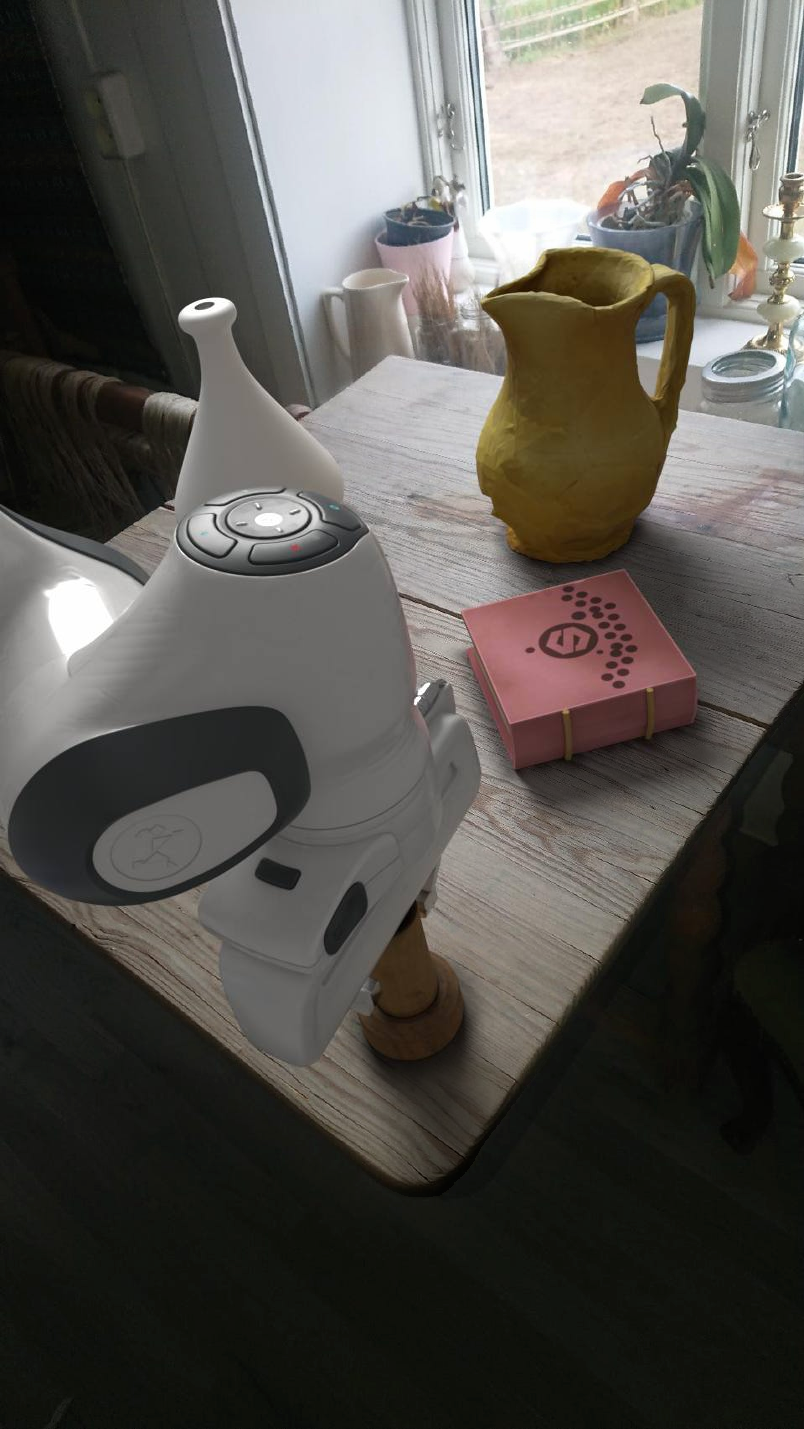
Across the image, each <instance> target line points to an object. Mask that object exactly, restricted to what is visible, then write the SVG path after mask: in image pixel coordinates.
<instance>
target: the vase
mask: <svg viewBox="0 0 804 1429" xmlns="http://www.w3.org/2000/svg"><path fill="white" fill-rule="evenodd" d="M237 316H238V311H237V308H236V305H235V304H234V303H233V302H232V300H230V299H227V298H223V297H209V298H204V299H199V300H197V301H194V302H192V303H190V304H188V305H186V306H185V307H184V308H183V309H181V311H180V312H179V314H178V319H177V322H178V325H179V328H180V329H181V330H182V331H183V332H184V333H186V334H188V335H189V336H191V337H192V338H193V340H194V342H195V345H196V348H197V353H198V358H199V364H200V372H201V374H200V375H201V376H200V377H201V380H200V381H201V382H200V392H199V398H198V404H197V408H196V413H195V417H194V421H193V425H192V428H191V433H190V436H189V440H188V443H187V447H186V451H185V454H184V458H183V462H182V465H181V469H180V473H179V476H178V481H177V485H176V490H175V496H174V516H175V520H176V525H178V524H179V522H180V521H181V519H182V518H183V517H184V516H185V515H186V514H187V513H188V512H190V511H191V510H192V509H194V508H195V507H197V506H198V505H200V504H202V503H204V502H206V501H208V500H210V499H213V498H215V497H218V496H220V495H223V494H226V493H229V492H233V491H237V490H241V489H247V488H255V487H268V486H281V487H285V488H293V489H300V490H305V491H313V492H316V493H319V494H321V495H324V496H326V497H328V498H331V499H333V500H335V501H337V502H338V503H340V504H342V505H343V502H344V497H345V481H344V480H345V479H344V476H343V473H342V471H341V469H340V466H339V465H338V462H336V460H335V459H334V457H333V456H332V455H331V454H330V453H329V451H328V450H327V449H326V448H325V447H324V446H323V445H322V444H321V443H320V442H319V441H318V440H317V439H316V438H315V437H314V436H313V435H312V434H311V432H309V431H308V430H307V429H306V428H305V427H304V426H303V425H301V423H299V422H298V421H297V419H295V418H294V417H293V415H291V414H290V413H289V412H288V411H287V410H286V409H285V408H284V407H283V406H282V405H280V403H278V401H276V399H275V398H274V397H272V395H270V394H269V392H268V391H267V390H266V389H265V388H264V387H263V386H262V385H261V384H260V383H259V382H258V381H257V380H256V378H255V377H254V376H253V375H252V373H251V371H249V369H248V368H247V366H246V364H245V363H244V361H243V358H242V356H241V354H240V352H239V350H238V347H237V345H236V342H235V340H234V337H233V333H232V326H233V324H234V323H235V321H236V319H237Z"/></svg>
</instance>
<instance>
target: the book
mask: <svg viewBox="0 0 804 1429" xmlns="http://www.w3.org/2000/svg"><path fill="white" fill-rule="evenodd" d="M460 615H461V619H462V621H463V624H464V626H465V628H466V631H467V634H468V636H469V638H470V640H471V643H472V647H470V648H469V647H468V648H466V649H465V652H466V657H467V659H468V661H469V664H470V666H471V669H472V672H473V674H474V676H475V678H476V681H477V683H478V686H479V688H480V690H481V693H482V695H483V697H484V700H485V703H486V705H487V707H488V710H489V712H490V714H491V718H492V719H493V722H494V724H495V727H496V728H497V731H498V734H499V736H500V739H501V741H502V743H503V746H504V748H505V750H506V753H507V755H508V758H509V760H510V764H511V765H512V768H513V770H514V771H516V770H520V769H524V768H527V767H531V766H534V765H535V766H536V765H538V764H543V763H546V762H550V761H554V760H558V759H562V758H564V760H565V761H571V760H572V756H573V755H577V754H580V753H581V754H582V753H584V752H588V751H592V750H596V749H599V748H604V747H607V746H611V745H615V744H618V743H622V742H626V741H630V740H634V739H638V738H641V737H644V738H645V739H647V740H650V739H652V735H653V734H656V733H660V732H663V731H668V730H672V729H675V728H679V727H683V726H686V725H690V724H693V723H694V721H695V718H696V714H697V710H698V699H699V692H698V676H697V675H698V674H697V673H696V672H695V671H694V669H693V668H692V665H691V664H690V663H689V661H688V660H687V658H686V657H685V656H684V654H683V653H682V651H681V650H680V648H679V647H678V644H676V643H675V641H674V639H673V638H672V636H671V635H670V634H669V632H668V631H667V629H666V628H665V627H664V625H663V624H662V622H661V620H660V619H659V617H658V616H657V614H656V613H655V611H654V610H653V609H652V607H651V606H650V604H649V602H648V601H647V600H646V598H645V597H644V595H643V594H642V592H641V591H640V590H639V588H638V587H637V585H636V583H635V582H634V581H633V579H632V577H631V576H630V575H629V573H628V572H627V570H626V569H625V568H622V569H618V570H614V571H610V572H605V573H601V574H598V575H593V576H590V577H586V578H583V579H578V580H574V581H571V582H567V583H562V584H559V585H554V586H550V587H547V588H543V589H539V590H534V591H531V592H528V593H523V594H519V595H516V596H511V597H508V598H504V599H500V600H496V601H492V602H488V603H484V604H481V605H477V606H473V607H468V608H464V609H461V610H460Z"/></svg>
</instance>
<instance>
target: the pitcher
mask: <svg viewBox="0 0 804 1429" xmlns="http://www.w3.org/2000/svg"><path fill="white" fill-rule="evenodd" d="M659 293H662V294H663V295H664V296H665V297H666V326H665V331H664V336H663V346H662V354H661V357H660V364H659V367H658V370H657V375H656V376H657V377H656V382H655V386H654V387H655V388H654V393H653V396H650V395H649V394H648V392H646V390H645V389H644V386H643V385H642V383H641V380H640V376H639V375H640V374H639V367H638V366H639V365H638V355H637V354H638V353H637V343H636V328H637V327H638V324H639V321H640V318H641V317H642V315H643V314H644V313H645V312H646V310H647V309H648V308H649V307H650V306H651V305H652V303H653V300H654V299H655V298H656V296H657V295H658V294H659ZM479 304H480V306H481V310H482V311H483V312H485V313H486V314H487V315H488V316H489V317H490V318H491V319H492V321H493V322H494V323H495V324H496V325H497V326H498V327H499V329H500V331H501V333H502V337H503V338H504V339H503V340H504V346H505V347H504V348H505V373H504V379H503V381H502V386H501V388H500V390H499V393H498V394H497V397H496V399H495V401H494V403H493V404H492V406H491V408H490V409H489V413H488V414H487V417H486V418H485V422H484V424H483V426H482V428H481V431H480V434H479V438H478V443H477V447H476V452H475V457H474V458H475V467H476V469H475V470H476V476H477V482H478V487H479V490H480V492H481V495H483V496H485V497H488V498H490V500H491V504H492V507H493V509H492V511H491V512H490V515H491V516H492V517H495V518H496V519H498V520H499V521H502V522H503V523H504V524H505V525H507V526H506V528H507V529H506V531H505V534H506V535H505V539H506V542H507V544H508V547H509V548H510V549H511V550H512V551H514V552H516V553H518V554H520V553H521V554H522V555H525V556H526V557H529V558H530V559H536V560H539V561H541V560H542V561H543V562H545V561H546V562H547V563H551V564H567V563H571V562H572V563H574V562H575V563H579V562H580V563H582V562H584V561H585V562H592V561H595V560H600V559H604V558H606V557H607V556H608V555H609V554H612V553H613V552H617V551H618V550H619V548H620V547H622V546H624V544H627V543H628V540H629V539H630V537H631V535H632V532H633V530H634V529H633V528H634V526H635V520H636V519H637V518H638V517H639V516H641V514H642V513H643V512H644V511H646V509H648V507H650V505H651V502H652V500H653V498H654V496H655V494H656V491H657V487H658V483H659V480H660V477H661V475H662V472H663V469H664V466H665V463H666V460H667V456H668V450H669V446H670V442H671V439H672V435H673V433H674V432H675V430H676V429H677V428H678V425H677V423H678V420H679V404H680V400H681V391H682V390H683V388H684V386H685V384H686V382H687V379H686V378H687V371H688V366H689V361H690V357H691V350H692V345H693V344H692V343H693V340H694V333H695V318H696V310H697V295H696V288H695V285H694V283H693V281H692V280H691V278H689V277H688V276H687V274H684V273H682V272H680V271H679V270H677V269H676V270H675V269H672V268H670V267H669V266H667V265H664V264H661V263H654V264H651V263H650V262H649V261H648V260H646V259H645V258H643V256H641V255H639V254H636V253H635V252H630V251H624V250H622V249H619V248H612V247H611V248H610V247H602V246H573V247H559V248H557V247H556V248H555V247H554V248H548V249H546V250H543V251H542V253H541V254H540V256H539V258H538V260H537V263H536V265H535V266H534V268H533V269H531V270H530V271H529V272H528V273H527V274H526V275H523V276H521V277H519V278H517V279H514V280H512V281H510V282H506V283H504V284H503V285H500V286H498V287H495V288H493V289H491V291H489V292H488V293H487V294H486V295H484V296H483V297H482V299H481V301H480V302H479Z"/></svg>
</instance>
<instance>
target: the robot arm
mask: <svg viewBox="0 0 804 1429" xmlns="http://www.w3.org/2000/svg"><path fill="white" fill-rule="evenodd" d="M417 673H418V672H417V663H416V659H415V653H414V649H413V645H412V641H411V636H410V631H409V627H408V623H407V619H406V615H405V611H404V607H403V604H402V601H401V597H400V593H399V590H398V587H397V584H396V581H395V578H394V575H393V572H392V569H391V566H390V564H389V561H388V559H387V556H386V554H385V551H384V549H383V546H382V545H381V543H380V541H379V539H378V537H377V536H376V534H375V533H374V531H373V530H372V528H371V527H370V526H369V524H367V522H366V521H365V520H364V519H362V518H361V517H360V516H359V515H358V514H356V513H355V512H354V511H352V510H351V509H350V508H348V507H347V506H346V505H344V504H343V503H342V504H340V503H338V502H337V501H335V500H333V499H331V498H328V497H326V496H324V495H321V494H319V493H316V492H313V491H305V490H300V489H293V488H285V487H281V486H268V487H255V488H247V489H241V490H237V491H233V492H229V493H226V494H223V495H220V496H218V497H215V498H213V499H210V500H208V501H206V502H204V503H202V504H200V505H198V506H197V507H195V508H194V509H192V510H191V511H190V512H188V513H187V514H186V515H185V516H184V517H183V518H182V519H181V521H180V522H179V524H176V527H175V529H174V531H173V534H172V537H171V539H170V542H169V545H168V547H167V550H166V552H165V554H164V556H163V558H162V560H161V561H160V562H159V565H158V566H157V568H155V570H154V572H153V573H152V574H151V576H150V575H149V574H148V572H147V571H146V570H144V568H143V567H141V565H139V564H138V563H137V562H135V561H134V560H133V559H132V558H131V557H129V556H128V555H126V554H125V553H122V552H120V551H119V550H117V549H115V548H113V547H111V546H108V545H107V544H104V543H101V542H99V541H95V540H94V539H90V538H86V537H84V536H80V535H77V534H74V533H71V532H66V531H64V530H61V529H57V528H54V527H51V526H48V525H45V524H42V523H39V522H36V521H34V520H33V519H29V518H26V517H25V516H22V515H21V514H19V513H17V512H15V511H13V510H12V509H9V508H8V507H6V506H4V505H2V504H1V503H0V820H1V823H2V827H3V829H4V832H5V835H6V838H7V841H8V846H9V849H10V853H11V855H12V858H13V860H14V861H15V863H16V865H17V866H18V867H19V869H20V870H21V872H22V873H23V874H24V875H25V876H26V877H27V878H29V879H30V880H31V881H32V882H33V883H34V884H36V885H37V886H39V887H41V888H42V889H44V890H46V891H48V892H50V893H52V894H55V895H57V896H59V897H62V898H64V899H68V900H70V901H75V902H78V903H83V904H88V905H93V906H102V907H103V906H104V907H129V906H139V905H146V904H150V903H154V902H158V901H162V900H166V899H169V898H173V897H176V896H178V895H181V894H184V893H186V892H188V891H191V890H193V889H196V888H198V887H199V886H202V885H204V884H206V883H207V884H206V886H205V888H204V891H203V892H202V895H201V897H200V899H199V902H198V905H197V917H198V921H199V923H200V925H201V927H202V928H203V929H204V931H206V932H208V933H209V934H211V935H213V936H214V937H215V938H217V939H218V940H220V941H221V945H220V947H219V952H218V970H219V977H220V981H221V984H222V987H223V990H224V994H225V997H226V999H227V1001H228V1004H229V1006H230V1009H231V1011H232V1013H233V1015H234V1018H235V1020H236V1022H237V1024H238V1026H239V1028H240V1030H241V1032H242V1033H243V1036H244V1037H245V1038H246V1039H247V1041H248V1042H249V1043H250V1044H251V1045H253V1047H255V1048H257V1049H258V1050H260V1051H262V1052H263V1053H265V1054H267V1055H269V1056H270V1057H273V1058H275V1059H277V1060H279V1061H281V1062H284V1063H286V1064H289V1065H291V1066H294V1067H297V1068H306V1067H310V1066H313V1065H314V1064H316V1063H318V1062H319V1061H320V1060H321V1058H322V1057H323V1055H324V1053H325V1051H326V1049H328V1046H329V1044H330V1043H331V1041H332V1039H333V1037H334V1036H335V1034H336V1033H337V1031H338V1030H339V1027H340V1026H341V1024H342V1022H343V1021H344V1020H345V1017H346V1016H347V1014H348V1013H349V1011H350V1010H352V1011H354V1012H356V1013H357V1012H358V1013H361V1014H363V1015H365V1016H370V1015H371V1013H372V1011H373V1009H374V1008H375V1006H376V1004H377V1003H378V1001H379V999H380V997H381V995H382V994H383V993H382V990H380V983H379V980H377V979H375V978H372V977H370V974H371V972H372V971H373V969H374V967H375V966H376V964H377V962H378V961H379V959H380V957H381V956H382V954H383V952H384V951H385V949H386V947H387V946H388V944H389V942H390V941H391V939H392V937H393V936H394V934H395V932H396V931H397V929H398V927H399V926H400V924H401V922H402V921H403V919H404V917H405V916H406V914H407V912H408V911H409V909H410V907H411V906H412V904H413V902H414V900H415V899H416V901H417V904H418V908H419V912H420V917H421V919H427V917H428V916H429V915H430V913H431V911H432V909H433V907H434V906H435V905H436V903H437V901H438V899H439V896H438V891H437V887H436V884H437V880H438V875H439V870H440V866H441V861H442V857H443V856H442V855H443V854H444V852H445V850H446V849H447V847H448V845H449V844H450V842H451V840H452V838H453V837H454V836H455V834H456V832H457V830H458V828H459V827H460V825H461V823H462V822H463V820H464V819H465V817H466V815H467V813H468V812H469V811H470V808H471V807H472V806H473V804H474V802H475V801H476V799H477V797H478V794H479V792H480V791H479V790H480V786H481V780H482V766H481V762H480V761H481V760H480V758H479V753H478V748H477V745H476V742H475V739H474V736H473V733H472V730H471V727H470V724H469V723H468V722H467V720H466V719H465V718H464V717H463V716H462V715H460V714H457V706H456V700H455V694H454V688H453V687H452V684H451V683H449V682H447V681H446V680H445V679H443V678H436V679H435V680H433V681H432V680H427V681H425V682H424V683H422V684H421V685H420V687H419V688H418V689H417V683H418V682H417V681H418V674H417Z"/></svg>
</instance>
